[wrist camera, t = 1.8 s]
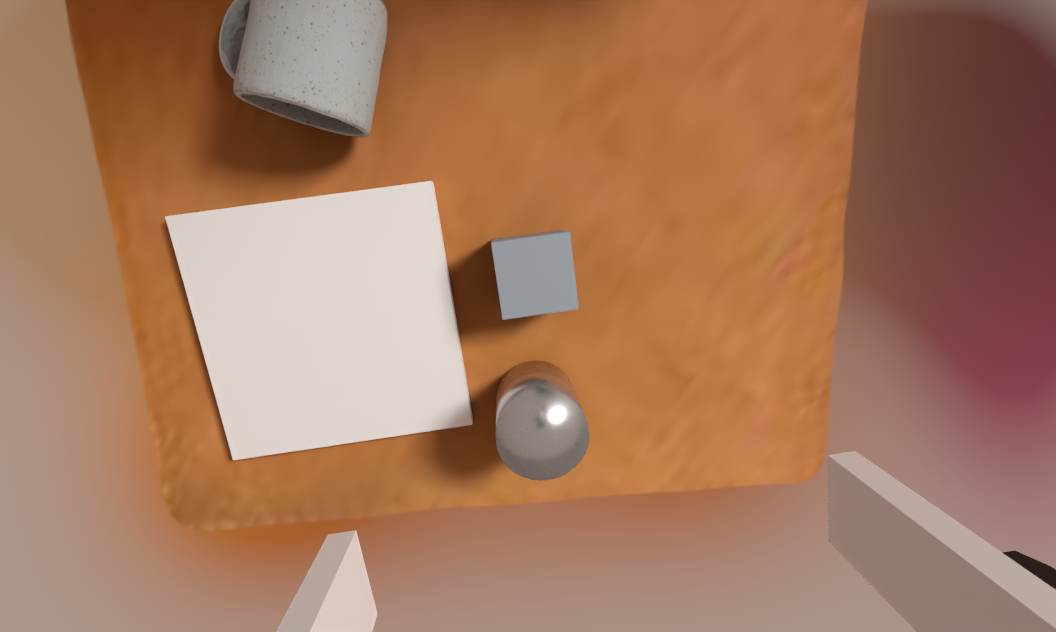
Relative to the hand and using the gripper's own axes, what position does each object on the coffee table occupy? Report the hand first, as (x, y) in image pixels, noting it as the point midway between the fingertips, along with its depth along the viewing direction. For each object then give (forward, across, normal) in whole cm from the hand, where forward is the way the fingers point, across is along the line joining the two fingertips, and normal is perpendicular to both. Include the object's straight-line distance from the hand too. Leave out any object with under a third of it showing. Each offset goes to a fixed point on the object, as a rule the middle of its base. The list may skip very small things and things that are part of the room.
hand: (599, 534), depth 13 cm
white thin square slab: (+24, -15, +3) cm, 28 cm away
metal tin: (+24, -1, -6) cm, 25 cm away
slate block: (+24, 0, +4) cm, 25 cm away
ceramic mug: (+24, -12, +20) cm, 34 cm away
